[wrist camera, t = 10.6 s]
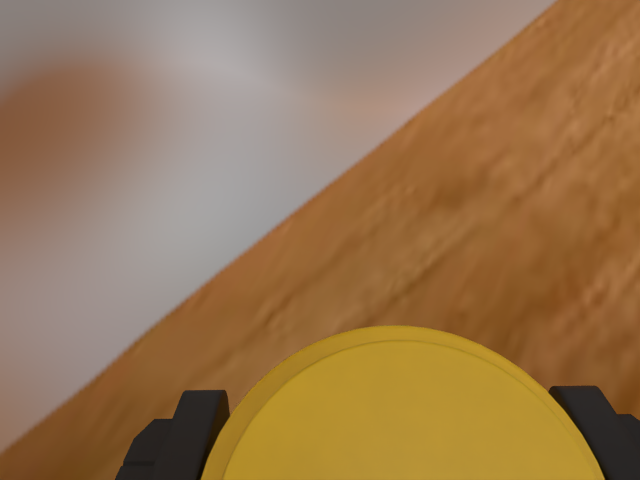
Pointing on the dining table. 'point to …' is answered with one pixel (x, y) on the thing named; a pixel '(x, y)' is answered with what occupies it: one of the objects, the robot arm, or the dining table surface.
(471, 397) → the yellow cylinder
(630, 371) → the dining table surface
